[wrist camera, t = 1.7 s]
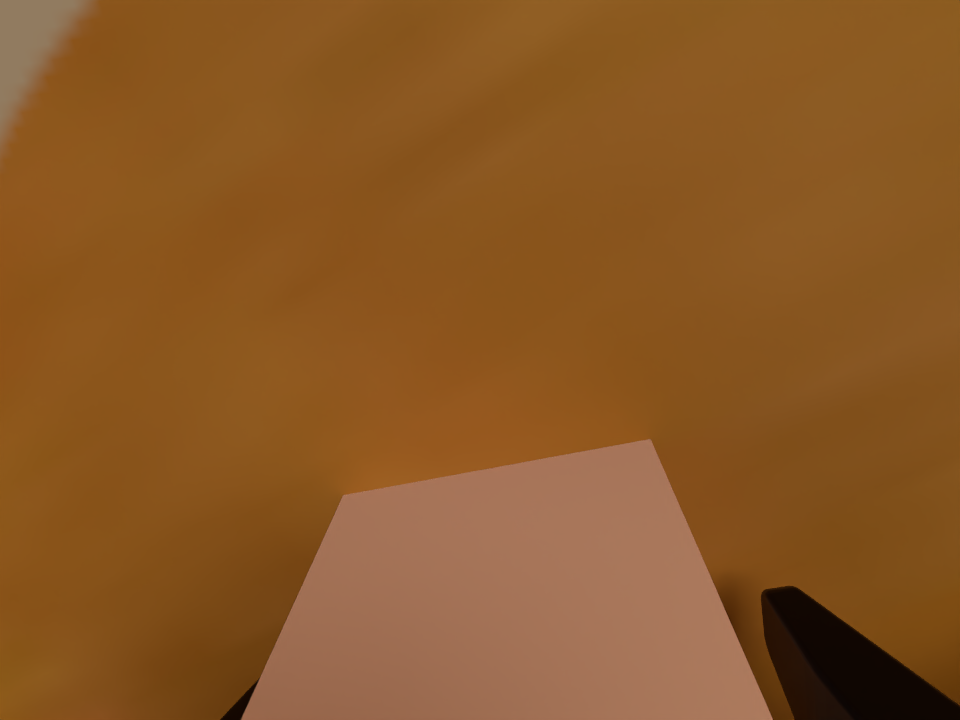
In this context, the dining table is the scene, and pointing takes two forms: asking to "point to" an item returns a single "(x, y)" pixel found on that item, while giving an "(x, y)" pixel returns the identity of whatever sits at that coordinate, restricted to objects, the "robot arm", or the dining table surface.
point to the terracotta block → (512, 604)
